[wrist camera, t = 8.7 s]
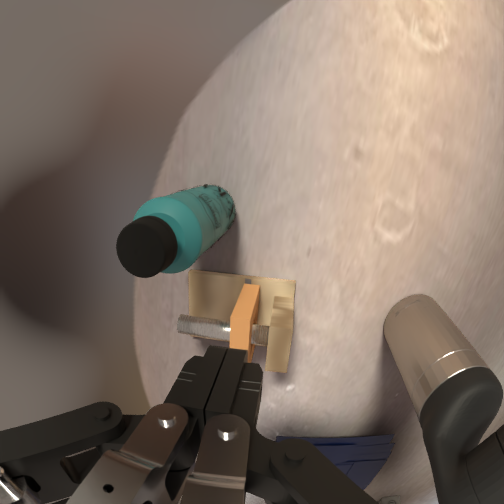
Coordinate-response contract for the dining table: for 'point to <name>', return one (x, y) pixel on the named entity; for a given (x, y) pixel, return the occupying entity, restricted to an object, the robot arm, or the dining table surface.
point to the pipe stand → (222, 305)
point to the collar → (244, 319)
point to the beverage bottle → (174, 230)
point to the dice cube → (390, 500)
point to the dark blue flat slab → (354, 455)
